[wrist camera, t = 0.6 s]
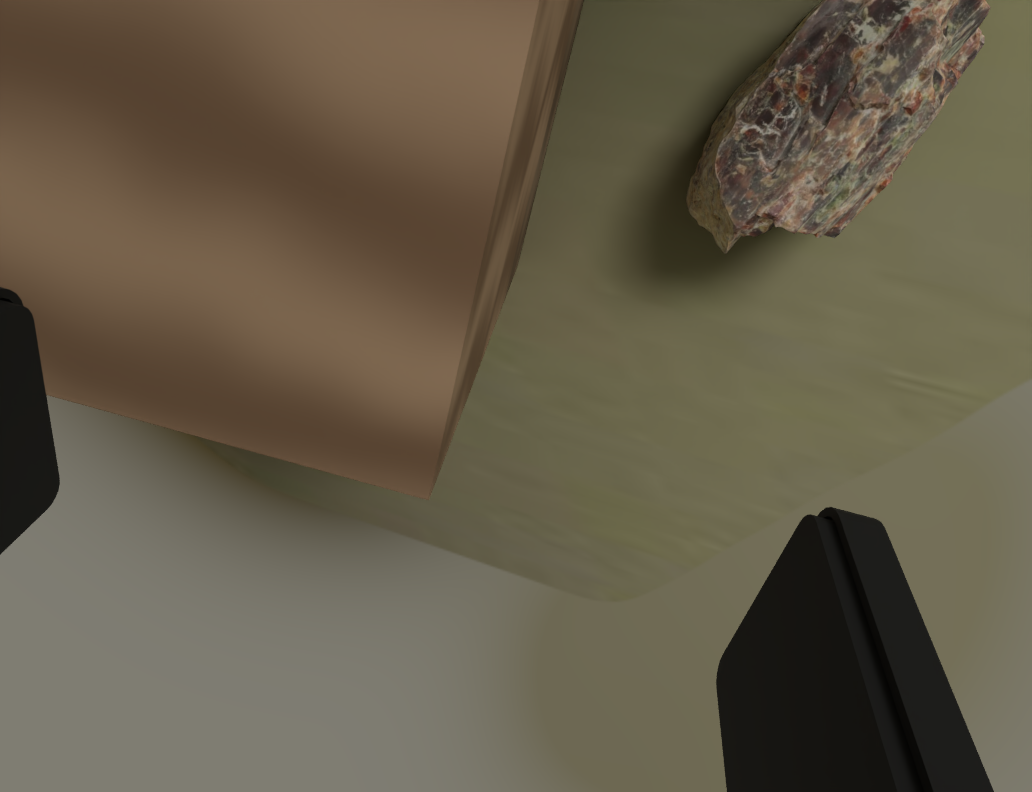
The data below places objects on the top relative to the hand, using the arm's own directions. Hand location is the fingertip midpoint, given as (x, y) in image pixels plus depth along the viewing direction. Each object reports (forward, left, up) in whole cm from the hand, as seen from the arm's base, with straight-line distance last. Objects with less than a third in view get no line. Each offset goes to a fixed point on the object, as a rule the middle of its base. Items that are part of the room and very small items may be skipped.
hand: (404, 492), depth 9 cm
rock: (-3, +9, -27) cm, 29 cm away
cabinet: (-1, -8, -27) cm, 28 cm away
